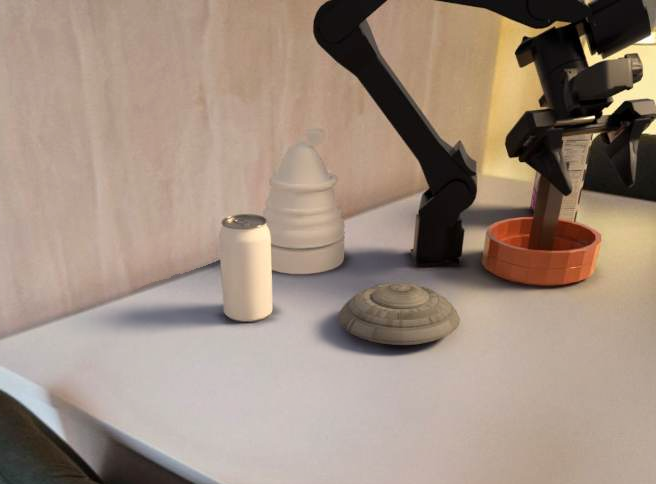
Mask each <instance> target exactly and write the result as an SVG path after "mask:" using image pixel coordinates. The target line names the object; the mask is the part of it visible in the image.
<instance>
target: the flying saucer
mask: <svg viewBox="0 0 656 484" xmlns="http://www.w3.org/2000/svg"><path fill="white" fill-rule="evenodd" d="M338 321H339V323H340V324H341V326H342V327H343V328H344V329H345V330H346V331H348V332H349V333H351V334H352V335H354V336H356V337H358V338H360V339H363V340H367V341H369V342H374V343H378V344H383V345H393V346H413V345H420V344H427V343H431V342H434V341H438V340H441V339H443V338H445V337H447V336H449V335H450V334H452V333H453V332H454V331H456V330H457V329H458V327H459V325H460V323H461V322H460V321H461V319H460V315H459V313H458V311H457V310H456V308H455V307H454V306H453V304H452V302H450V301H449V300H448V299H447V298H446V297H445V296H444V295H442V294H440V293H439V292H436V291H434V290H432V289H430V288H427V287H425V286H422V285H417V284H412V283H405V282H404V283H403V282H396V283H395V282H393V283H384V284H379V285H375V286H371V287H369V288H366V289H364V290H361V291H360V292H358V293H356V294H355V295H354V296H352V297H351V298H349V300H347V302H346V303H344V305H343V307H341V309H340V311H339V313H338Z"/></svg>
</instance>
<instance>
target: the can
mask: <svg viewBox="0 0 656 484" xmlns="http://www.w3.org/2000/svg"><path fill="white" fill-rule="evenodd" d="M266 222H267V220H266V218H264V217H263V216H262V215H259V214H254V213H239V214H233V215H229V216H226V217H223V219H221V222H220V223H221V225H222V226H221V228H220V230H219V233H218V245H219V260H220V276H221V290H222V303H223V304H222V305H223V313H224V314H225V316H226V317H227V318H228V319H230V320H232V321H234V322H238V323H255V322H259V321H262V320H265V319H266V318H268V317H269V316H270V315H271V314H272V312H273V275H272V273H273V270H272V267H271V237H270V231H269V229H268V227H267V224H266Z"/></svg>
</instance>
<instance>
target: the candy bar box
mask: <svg viewBox="0 0 656 484" xmlns="http://www.w3.org/2000/svg"><path fill="white" fill-rule="evenodd" d="M545 109H548V107H545ZM593 137H594V134H589V135H580V136H572V137H562V144H561V148H562V152H563V156H564V159H565V161H567V162H569V163H570V164H569V169H568V173H569V176H570V180H571V186H572V193H571V194H570V195H569V196H564V195H563V199H562V204H561V209H560V214H559V219H563V220H569V221H573V222H577V220H576V219H577V216H578V212H579V211H578V210H579V206H580V202H581V196H582V193H583V192H582V191H583V188H584V187H583V186H584V182H585V176H586V173H587V168H588V163H589V158H590V153H591V147H592V143H593ZM540 175H541V174H540V173H538V172H537V171H536V170H535V175H534V183H533V189H532V194H531V201H530V205H529V209H530V210H531V211H532V212H533V213H534V209H535V203H536V197H537V192H538V186H539V181H540Z"/></svg>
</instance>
